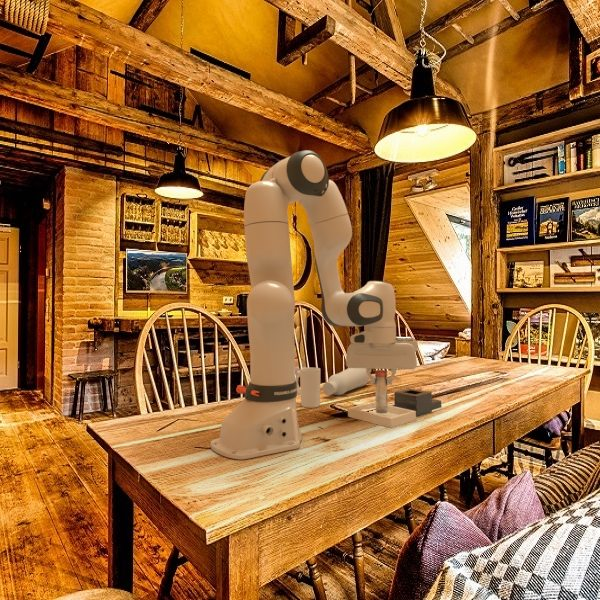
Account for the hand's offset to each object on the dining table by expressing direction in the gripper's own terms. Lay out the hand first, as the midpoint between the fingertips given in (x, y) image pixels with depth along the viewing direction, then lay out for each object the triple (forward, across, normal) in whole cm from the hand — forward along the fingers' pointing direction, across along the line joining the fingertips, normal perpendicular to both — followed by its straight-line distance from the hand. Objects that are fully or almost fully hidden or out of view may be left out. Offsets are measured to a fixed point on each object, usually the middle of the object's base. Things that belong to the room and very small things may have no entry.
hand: (381, 384), depth 122 cm
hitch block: (+10, -12, -12) cm, 20 cm away
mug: (+10, +25, -12) cm, 29 cm away
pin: (+8, 0, 0) cm, 8 cm away
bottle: (+10, +15, -36) cm, 40 cm away
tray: (+10, 0, 0) cm, 10 cm away
